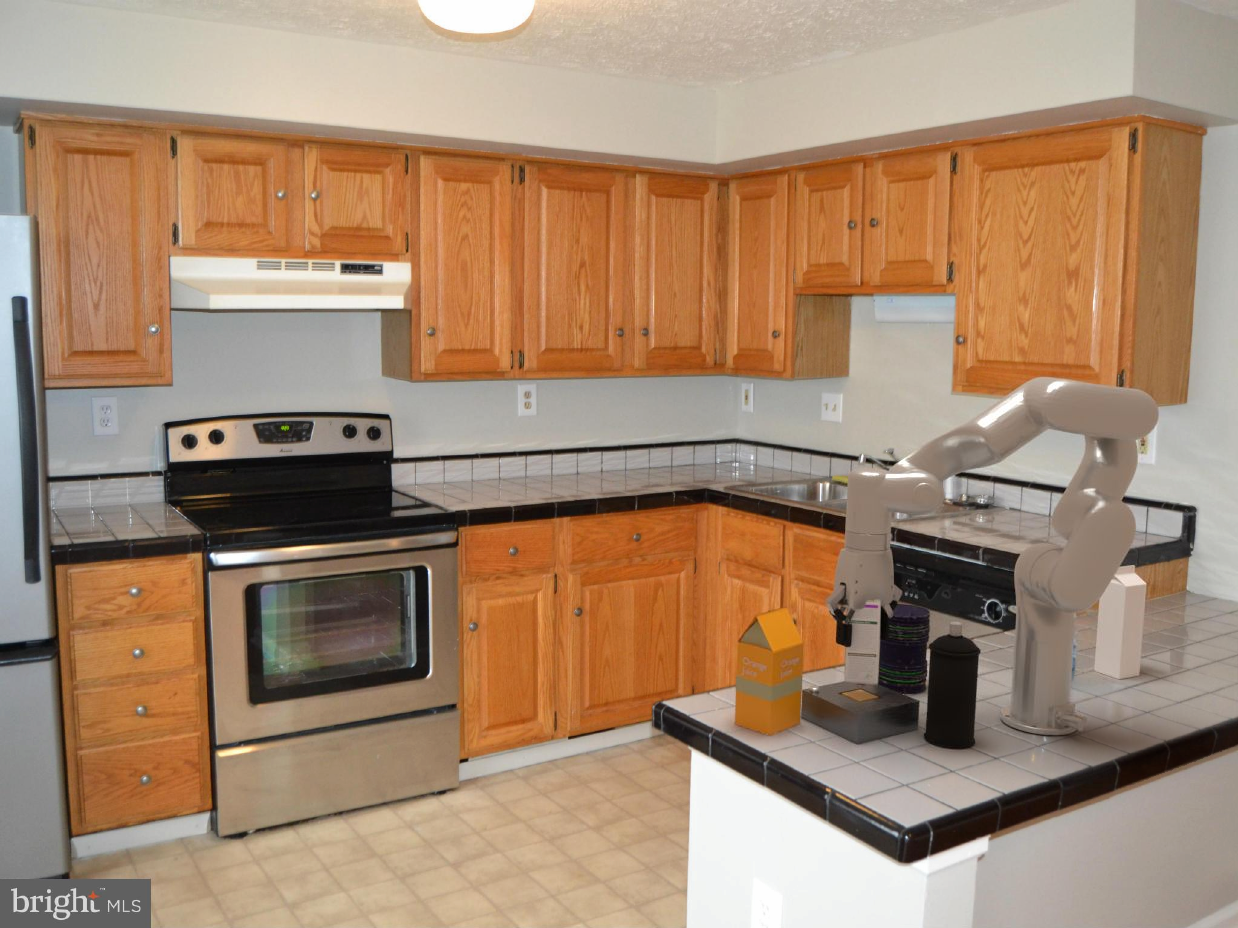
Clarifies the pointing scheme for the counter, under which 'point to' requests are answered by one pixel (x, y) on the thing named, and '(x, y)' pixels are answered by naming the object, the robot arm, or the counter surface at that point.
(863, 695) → the button
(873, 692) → the breaker box
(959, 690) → the aerosol can
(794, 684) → the orange juice
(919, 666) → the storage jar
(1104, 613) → the milk
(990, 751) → the counter surface
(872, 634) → the syrup box
